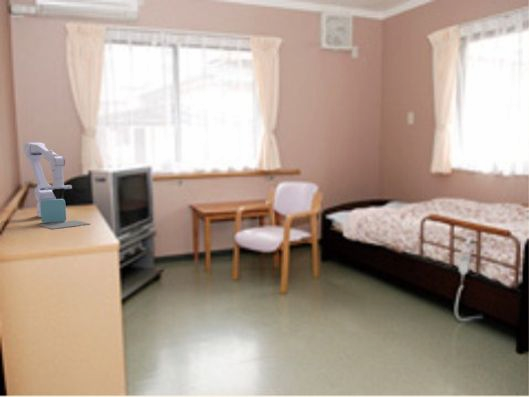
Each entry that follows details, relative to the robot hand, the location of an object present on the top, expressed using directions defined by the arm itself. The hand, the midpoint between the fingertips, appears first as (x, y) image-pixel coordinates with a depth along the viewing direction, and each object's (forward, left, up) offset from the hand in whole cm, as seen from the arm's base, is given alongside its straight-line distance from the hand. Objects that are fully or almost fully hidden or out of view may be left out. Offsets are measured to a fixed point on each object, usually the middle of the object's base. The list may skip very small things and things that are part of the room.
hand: (59, 202), depth 258 cm
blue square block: (+9, -7, -9) cm, 15 cm away
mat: (+20, -7, -9) cm, 23 cm away
